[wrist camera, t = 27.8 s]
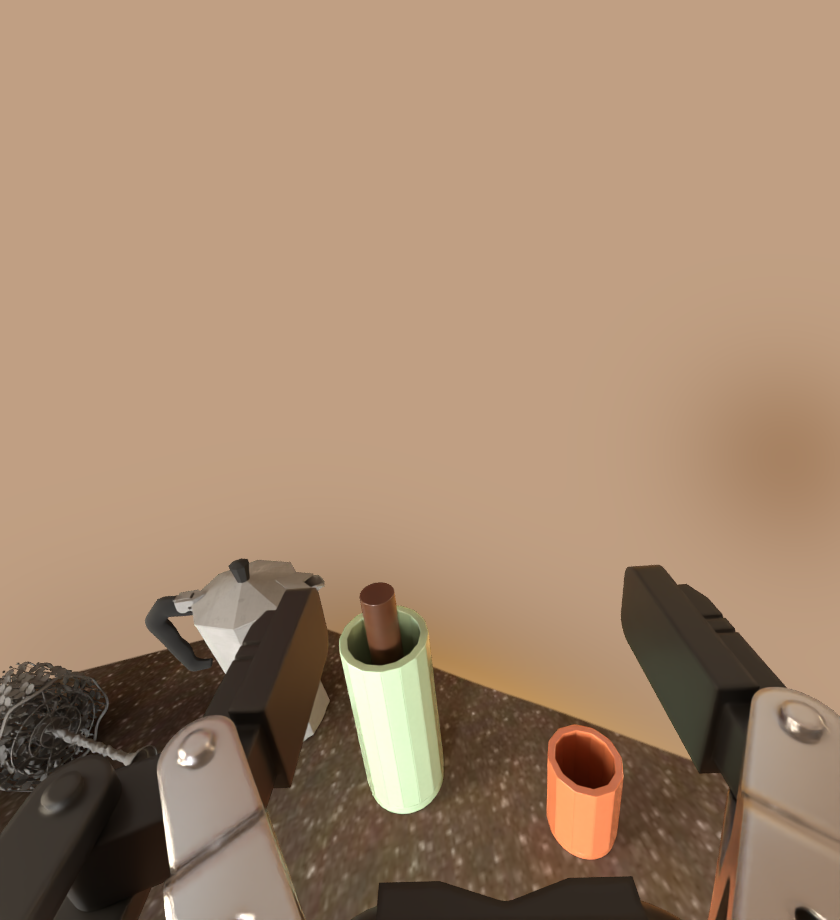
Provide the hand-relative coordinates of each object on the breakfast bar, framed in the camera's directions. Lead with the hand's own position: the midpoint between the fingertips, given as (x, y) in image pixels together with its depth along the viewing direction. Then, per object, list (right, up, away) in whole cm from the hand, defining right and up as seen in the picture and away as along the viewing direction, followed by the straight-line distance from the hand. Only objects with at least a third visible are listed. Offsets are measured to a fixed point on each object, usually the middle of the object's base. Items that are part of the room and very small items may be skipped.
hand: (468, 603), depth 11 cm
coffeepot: (-16, -22, +32) cm, 42 cm away
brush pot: (+11, -23, +21) cm, 33 cm away
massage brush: (-33, -25, +29) cm, 51 cm away
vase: (-2, -23, +25) cm, 34 cm away
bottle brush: (-2, -22, +25) cm, 34 cm away
